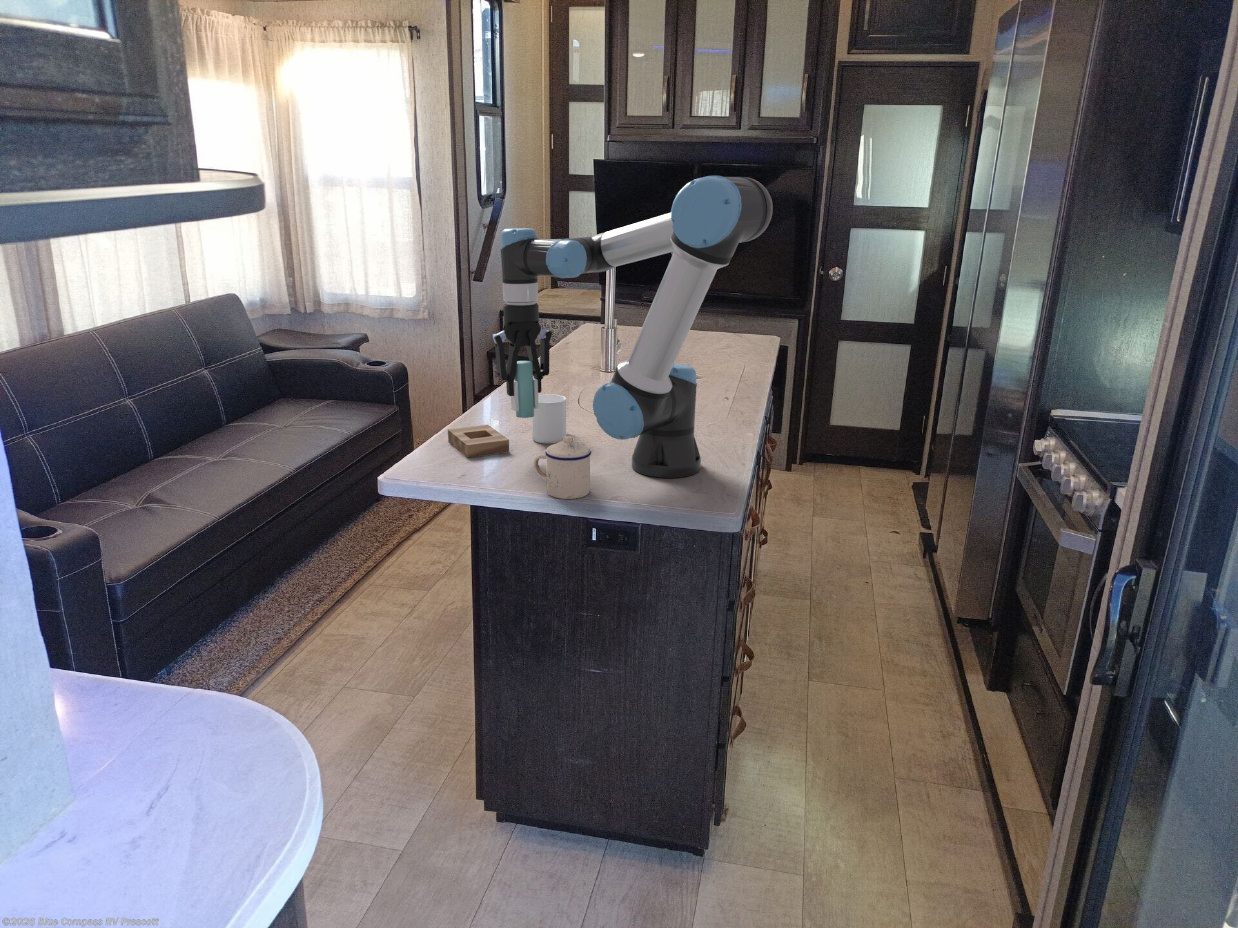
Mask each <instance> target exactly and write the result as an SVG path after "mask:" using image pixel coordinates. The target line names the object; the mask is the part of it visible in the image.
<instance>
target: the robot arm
mask: <svg viewBox="0 0 1238 928" xmlns="http://www.w3.org/2000/svg"><path fill="white" fill-rule="evenodd" d="M773 208H774V207H773V200H772V197H771V195H770V192H769V190H767V188H766V187H765V186H764V185H763V184H762V182H761V183H760V181H757V180H756V179H753V178H752V177H746V176H722V175H708V176H703V177H698V178H696V179H693V180H691V181H689V182H687V183H686V184H685V185H684V186H682V188H681V189H680V190H679V191H678V192H677V194H676V195H675V198H674V200H673V202H672V206H671V209H670V212H668V213H664V214H661V215H658V216H655V217H651V218H649V219H645V220H642V221H638V222H635V223H632V224H628V225H625V226H622V227H618V228H614V229H612V230H609V231H605V232H601V233H599V234H594V235H591V236H585V237H584V236H582V237H572V238H571V237H570V238H568V237H566V238H556V239H555V238H554V239H553V238H549V239H547V238H544V239H543V238H538V236H537V231H536V229H534V228H532V227H531V228H530V227H529V228H528V227H514V228H509V227H508V228H504V229H503V230H502V231H501V234H500V248H499V249H500V250H499V251H500V258H501V274H502V275H501V277H502V300H503V301H504V302H505V303H503V304H504V305H503V308H502V309H503V322H504V325H503V327H502V331H500V332H498V333H492V334H491V336H490V337H491V339H492V342H493V343H494V351H495V352H494V353H495V363H496V374H497V375H496V376H497V378H498V379H501V380H503V381H505V382H506V385H505V386H506V395H507V396H509V397H510V407H511V408H510V409H511V410H513V411H515V412H516V411H519V398H518V382H517V381H515V373H516V366H517V361H518V358H519V352H520V350H521V347H524V346H525V349H526V352H527V357H528V359H529V360H528V361H531V362H532V368H533V396H534V408H535V409H538V395H539V394H540V393H542V390H543V389H542V380H543V379H544V377H545V376H549V375H550V342H551V339H552V335H553V332H552V331H551V330H548V329H544V328H542V326H541V325H540V323H539V321H540V310H539V306H540V305H539V304H538V303H537V301H539V283H538V279H539V276H541V277H542V276H543V277H552V278H553V277H554V278H559V279H569V278H577V277H579V276H580V275H583V274H590V273H603V272H607V271H611V270H613V269H614V268H616V267H619V266H623V265H626V264H631V263H635V262H638V261H643V260H647V259H650V258H654V257H657V256H661V255H665V254H669V253H672V255H671V258H670V260H669V262H668V265H667V267H666V270H665V272H664V275H663V277H662V278H661V279H662V280H661V282H660V284H659V286H658V288H657V291H656V293H655V296H654V298H653V300H652V303H651V305H650V308H649V310H648V313H647V315H646V317H645V320H644V322H643V324H642V326H641V329H640V331H639V332H638V333H639V334H638V337H637V338H636V341H635V343H634V346H633V348H632V350H631V353H630V355H629V358H626V359H623V360H621V361H620V362H618V364H617V366H616V368H615V371H614V373H613V376H612V378H611V381H610V382H607V383H604V384H603V385H602V386H600V387H599V388H598V389H597V390H596V392H595V393H594V396H593V401H592V410H593V411H592V412H593V415H594V416H595V418H596V422H597V424H598V425H599V427H600V428H601V429H602V430H603V432H604V433H605V434H607V435H608V436H610V437H611V438H612V439H615V440H621V441H622V440H630V439H635V438H637V442H636V445H635V447H634V450H633V454H632V455H631V468H632V469H633V470H634V471H635V472H637V473H639V474H642V475H643V476H644V475H645V476H649V477H653V478H654V477H655V478H664V479H667V478H668V479H671V478H672V479H673V478H674V479H675V478H683V477H689V476H693V475H695V474H697V473H699V472H700V471H701V466H702V459H701V454H700V451H699V447H698V443H697V439H696V436H695V419H696V405H697V404H696V402H697V401H696V399H697V387H698V383H697V371H696V369H694V368H693V367H692V366H689V365H685V364H680V363H676V361H677V359H678V356H679V354H680V353H681V350H682V348H683V345H684V344H685V341H686V339H687V337H688V335H689V332H690V330H691V328H692V327H693V326H692V325H693V324H694V321H695V319H696V317H697V315H698V313H699V311H700V308H701V306H702V303H703V302H704V300H705V297H706V296H707V293H708V291H709V289H710V287H711V283H712V282H713V280H714V278H715V275H716V273H717V272H718V271H717V270H719V269H721V268H724V267H726V266H727V267H728V265H729V264H730V262H731V261H732V258H733V256H734V254H735V252H736V249H737V247H738V245H739V243H740V244H741V243H746V242H750V241H752V240H755V239H757V238H758V237H760V236H761V235H762V234H763V233H764V232H765V231H766V230H767V228H768V227H769V224H770V222H771V220H772V216H773V210H774V209H773ZM538 336H539V339H540V340H539V342H540V343H539V357H538V352H537V345H536V339H537V338H538ZM505 337H506V339H507V340H508V341H509V345H508V358H507V363H506V352H505V345H504V343H505Z"/></svg>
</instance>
